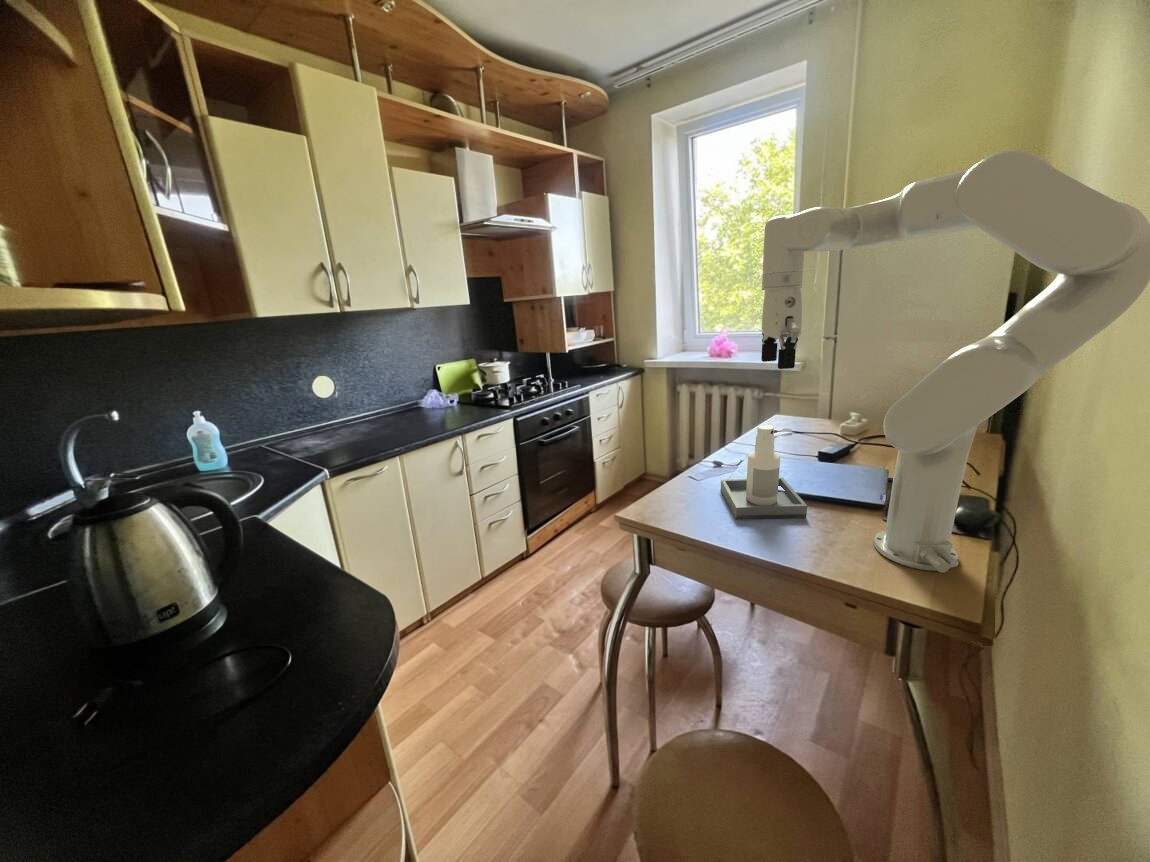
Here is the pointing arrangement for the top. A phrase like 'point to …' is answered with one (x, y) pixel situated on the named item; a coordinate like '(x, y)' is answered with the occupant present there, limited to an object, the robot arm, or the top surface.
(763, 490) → the spray bottle
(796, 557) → the top surface
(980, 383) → the robot arm
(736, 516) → the tray
